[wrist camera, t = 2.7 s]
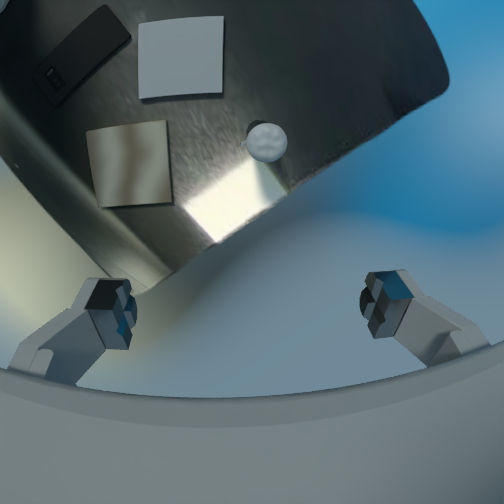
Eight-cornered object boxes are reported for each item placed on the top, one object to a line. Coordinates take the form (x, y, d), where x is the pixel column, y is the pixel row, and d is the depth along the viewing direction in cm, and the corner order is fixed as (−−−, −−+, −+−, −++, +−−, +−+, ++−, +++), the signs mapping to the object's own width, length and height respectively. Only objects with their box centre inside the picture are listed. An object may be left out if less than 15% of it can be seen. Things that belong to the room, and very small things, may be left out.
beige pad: (100, 205, 40) (98, 207, 40) (88, 131, 34) (85, 132, 33) (172, 200, 41) (171, 202, 41) (166, 120, 35) (165, 120, 34)
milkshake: (236, 113, 35) (241, 123, 27) (276, 116, 36) (293, 128, 28) (234, 145, 38) (238, 165, 30) (272, 147, 39) (288, 168, 30)
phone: (130, 36, 27) (54, 108, 30) (133, 37, 28) (58, 107, 31) (103, 2, 23) (30, 75, 26) (107, 4, 24) (35, 75, 27)
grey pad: (140, 98, 32) (139, 98, 32) (140, 25, 26) (138, 24, 26) (222, 92, 33) (222, 92, 33) (223, 17, 27) (223, 16, 27)
